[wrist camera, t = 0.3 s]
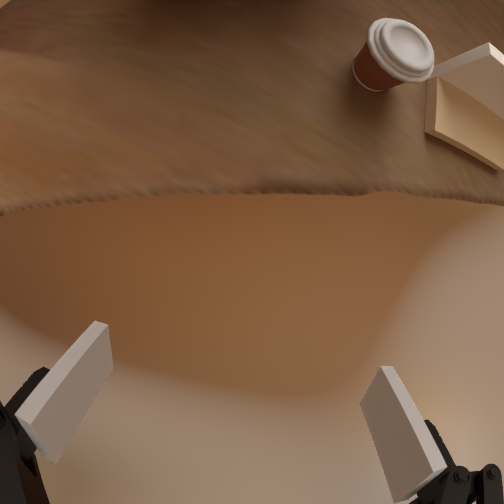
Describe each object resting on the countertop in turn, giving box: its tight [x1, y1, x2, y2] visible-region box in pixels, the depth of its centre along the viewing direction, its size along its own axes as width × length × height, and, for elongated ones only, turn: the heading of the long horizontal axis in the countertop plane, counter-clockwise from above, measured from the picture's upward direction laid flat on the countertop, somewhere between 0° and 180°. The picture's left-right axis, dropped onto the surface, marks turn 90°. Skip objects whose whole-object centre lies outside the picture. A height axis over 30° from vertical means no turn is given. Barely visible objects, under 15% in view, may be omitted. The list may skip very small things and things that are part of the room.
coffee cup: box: [352, 18, 434, 92], centre depth 25 cm, size 9×9×12 cm
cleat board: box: [424, 42, 504, 171], centre depth 24 cm, size 12×19×16 cm, turn 80°
